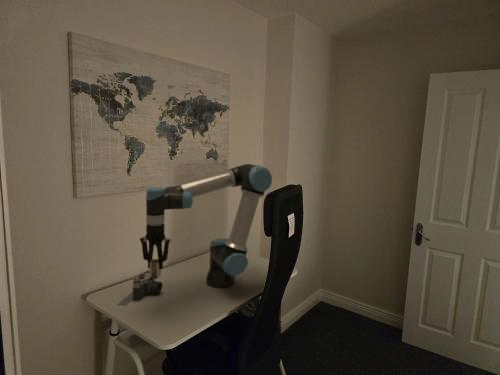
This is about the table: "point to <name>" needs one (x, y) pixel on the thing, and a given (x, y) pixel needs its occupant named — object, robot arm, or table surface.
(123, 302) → the strip
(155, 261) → the brown rounded cylinder
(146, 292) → the camera
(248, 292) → the table surface
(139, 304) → the table surface
